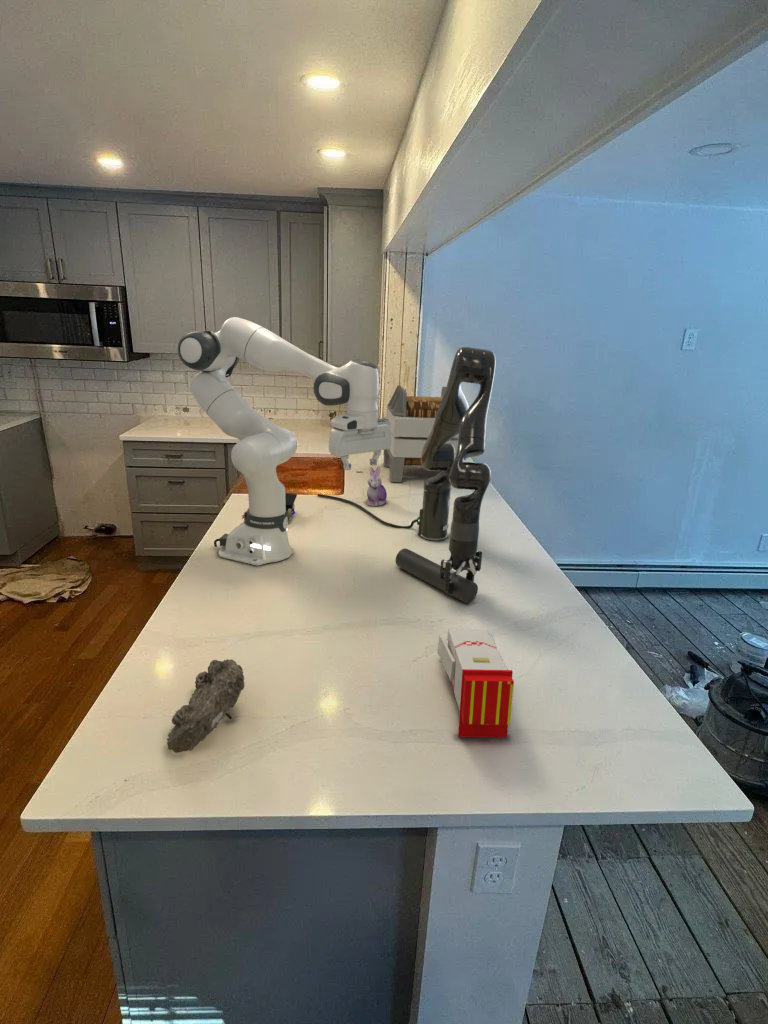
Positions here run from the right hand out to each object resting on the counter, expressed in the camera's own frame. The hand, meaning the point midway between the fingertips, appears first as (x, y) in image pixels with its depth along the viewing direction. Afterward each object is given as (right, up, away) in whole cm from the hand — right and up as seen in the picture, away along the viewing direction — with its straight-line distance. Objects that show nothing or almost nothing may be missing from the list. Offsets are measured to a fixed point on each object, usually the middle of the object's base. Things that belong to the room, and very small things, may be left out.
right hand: (458, 589), depth 157 cm
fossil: (-54, -18, -49) cm, 75 cm away
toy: (-3, -16, -38) cm, 42 cm away
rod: (-6, +1, +8) cm, 10 cm away
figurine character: (-57, +19, +53) cm, 80 cm away
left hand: (-28, +35, +7) cm, 45 cm away
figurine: (-24, +25, +73) cm, 81 cm away
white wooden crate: (-4, +40, +118) cm, 125 cm away
